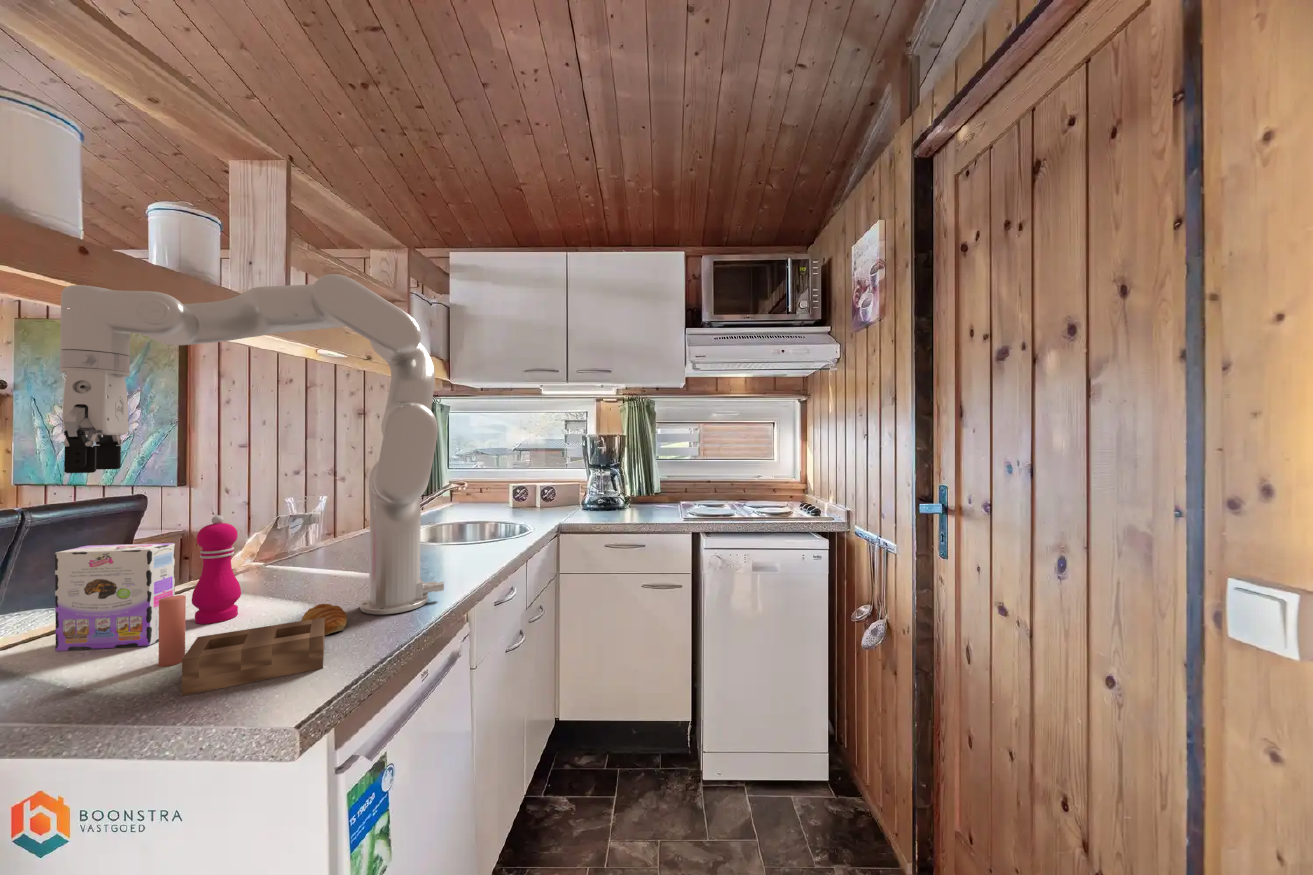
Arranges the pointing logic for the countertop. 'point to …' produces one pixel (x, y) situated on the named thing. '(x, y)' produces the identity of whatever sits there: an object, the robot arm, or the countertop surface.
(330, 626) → the pastry
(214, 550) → the pepper mill
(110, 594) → the candy box
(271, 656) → the hole block
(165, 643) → the peg
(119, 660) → the countertop surface
